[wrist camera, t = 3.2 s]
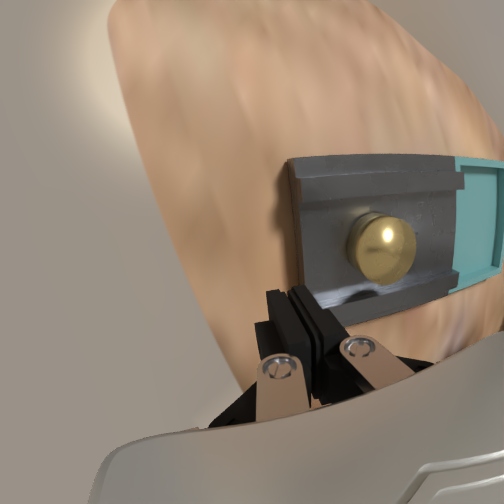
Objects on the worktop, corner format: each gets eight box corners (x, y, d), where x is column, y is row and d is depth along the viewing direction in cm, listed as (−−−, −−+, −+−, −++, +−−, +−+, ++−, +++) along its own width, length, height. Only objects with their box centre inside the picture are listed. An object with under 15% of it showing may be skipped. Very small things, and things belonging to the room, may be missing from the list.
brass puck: (398, 209, 20) (417, 214, 17) (397, 267, 21) (414, 278, 19) (345, 216, 19) (360, 222, 17) (347, 278, 21) (360, 291, 18)
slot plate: (441, 156, 21) (463, 156, 18) (437, 288, 25) (454, 299, 22) (287, 159, 20) (298, 157, 17) (301, 323, 24) (311, 343, 21)
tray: (497, 161, 21) (507, 162, 20) (491, 268, 25) (500, 272, 24) (442, 156, 21) (454, 156, 19) (438, 287, 25) (448, 293, 23)
